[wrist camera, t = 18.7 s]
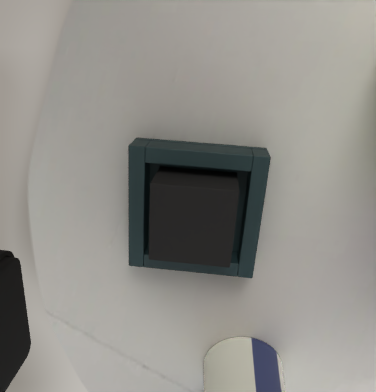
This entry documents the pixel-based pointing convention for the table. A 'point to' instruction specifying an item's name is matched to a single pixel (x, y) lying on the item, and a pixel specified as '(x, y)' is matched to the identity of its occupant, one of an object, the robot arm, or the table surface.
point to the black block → (193, 216)
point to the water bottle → (243, 367)
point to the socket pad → (202, 160)
